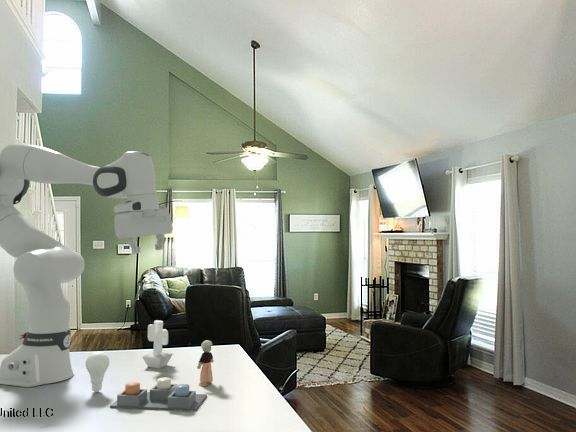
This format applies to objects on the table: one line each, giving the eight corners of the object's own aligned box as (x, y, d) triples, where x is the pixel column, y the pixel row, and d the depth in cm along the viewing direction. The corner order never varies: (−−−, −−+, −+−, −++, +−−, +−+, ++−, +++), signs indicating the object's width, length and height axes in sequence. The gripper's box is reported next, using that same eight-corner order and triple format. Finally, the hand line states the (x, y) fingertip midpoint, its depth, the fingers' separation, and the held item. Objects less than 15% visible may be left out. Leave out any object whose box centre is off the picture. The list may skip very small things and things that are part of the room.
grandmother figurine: (207, 388, 134) (208, 343, 135) (195, 387, 135) (195, 342, 135) (217, 380, 141) (217, 337, 142) (205, 379, 142) (205, 337, 143)
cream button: (154, 392, 123) (155, 381, 123) (159, 388, 127) (159, 377, 127) (168, 393, 123) (168, 381, 123) (172, 389, 126) (172, 377, 127)
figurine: (174, 363, 160) (175, 319, 161) (158, 370, 151) (159, 323, 152) (156, 361, 162) (157, 317, 163) (139, 368, 153) (140, 322, 154)
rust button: (122, 398, 119) (123, 386, 119) (128, 393, 122) (128, 381, 122) (136, 398, 118) (136, 386, 119) (141, 394, 122) (142, 382, 122)
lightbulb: (84, 390, 131) (86, 350, 131) (108, 387, 133) (109, 348, 134) (84, 396, 125) (85, 355, 126) (109, 394, 128) (110, 353, 128)
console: (110, 407, 118) (110, 395, 118) (128, 393, 129) (128, 382, 129) (195, 411, 116) (196, 398, 116) (206, 396, 127) (207, 385, 127)
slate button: (172, 400, 118) (173, 388, 118) (177, 395, 121) (177, 383, 121) (186, 400, 117) (186, 388, 118) (190, 396, 121) (191, 384, 121)
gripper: (159, 205, 150) (164, 248, 150) (108, 207, 132) (114, 256, 132) (174, 203, 147) (179, 247, 147) (124, 205, 129) (130, 254, 129)
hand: (148, 251), depth 139 cm, fingers open, 8 cm apart
